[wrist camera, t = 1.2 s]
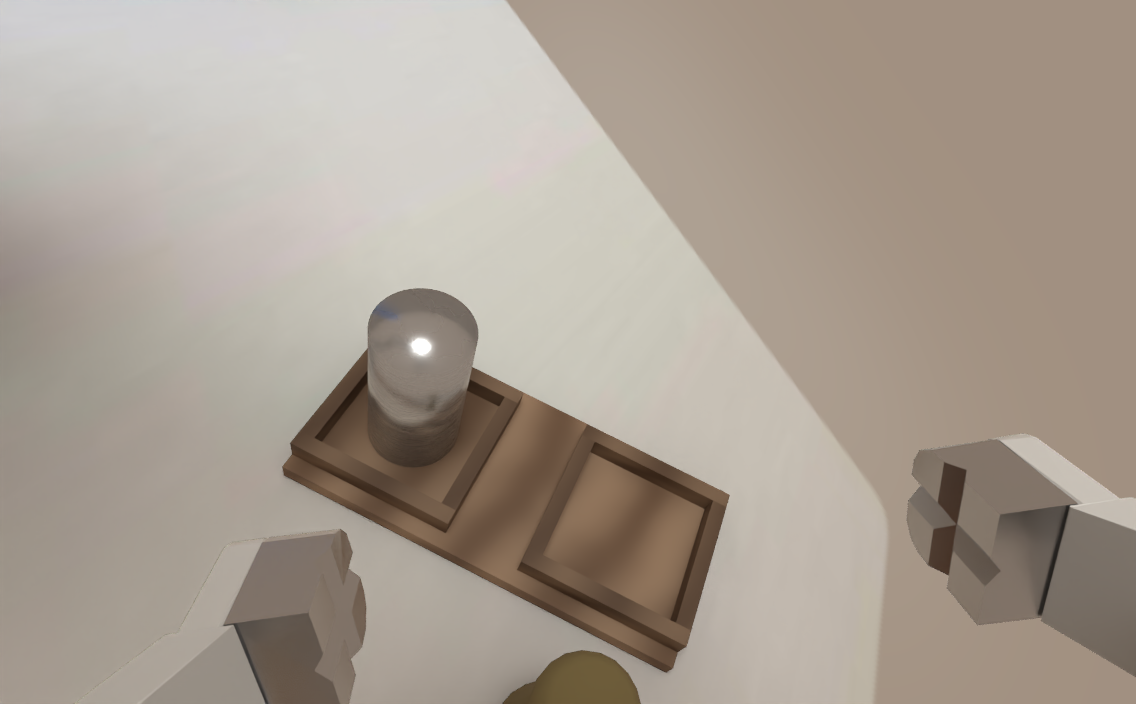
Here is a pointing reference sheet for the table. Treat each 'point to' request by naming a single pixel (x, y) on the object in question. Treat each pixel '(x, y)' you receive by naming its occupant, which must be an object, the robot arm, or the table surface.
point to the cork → (579, 682)
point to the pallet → (533, 510)
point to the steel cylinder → (418, 374)
